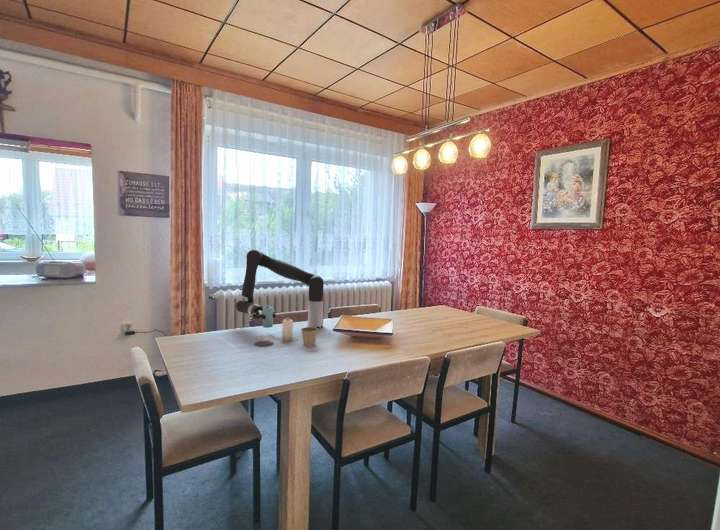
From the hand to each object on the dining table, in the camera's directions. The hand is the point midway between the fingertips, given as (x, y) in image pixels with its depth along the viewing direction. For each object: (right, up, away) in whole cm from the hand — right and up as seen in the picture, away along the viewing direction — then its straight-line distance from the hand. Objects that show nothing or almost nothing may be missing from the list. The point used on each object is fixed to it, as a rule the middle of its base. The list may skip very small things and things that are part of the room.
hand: (269, 316), depth 194 cm
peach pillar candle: (+9, -13, +1) cm, 16 cm away
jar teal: (-2, -6, +2) cm, 7 cm away
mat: (-1, -14, -8) cm, 16 cm away
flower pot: (+22, -15, -4) cm, 27 cm away
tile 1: (-3, -13, +3) cm, 13 cm away
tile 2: (+9, -14, +1) cm, 17 cm away
